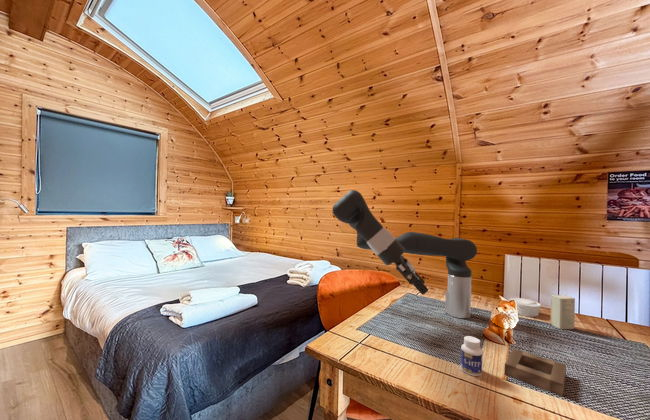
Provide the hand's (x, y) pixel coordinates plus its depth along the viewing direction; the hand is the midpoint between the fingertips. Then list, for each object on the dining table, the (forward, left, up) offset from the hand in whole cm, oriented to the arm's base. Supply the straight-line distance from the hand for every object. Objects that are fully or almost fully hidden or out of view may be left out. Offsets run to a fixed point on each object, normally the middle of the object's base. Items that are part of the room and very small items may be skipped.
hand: (423, 288), depth 78 cm
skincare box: (+27, +67, -22) cm, 75 cm away
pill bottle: (+11, +7, -22) cm, 26 cm away
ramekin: (+14, +74, -22) cm, 78 cm away
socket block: (+24, +18, -22) cm, 37 cm away
